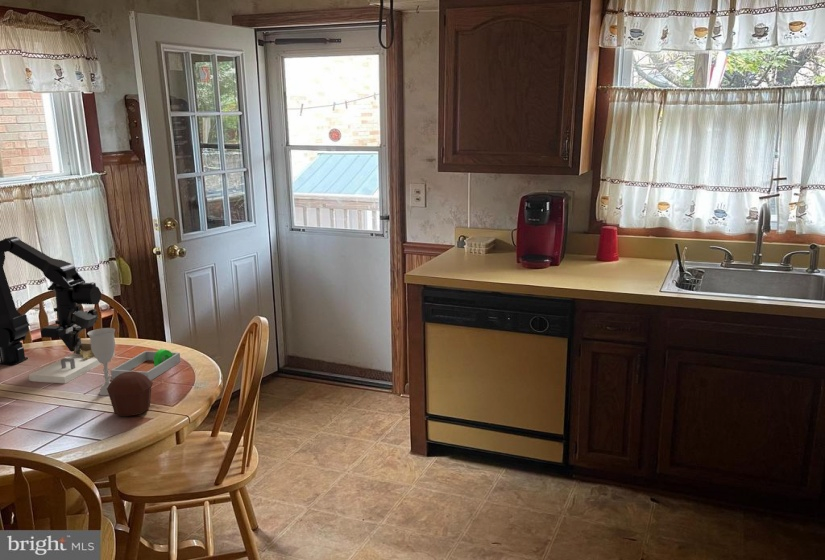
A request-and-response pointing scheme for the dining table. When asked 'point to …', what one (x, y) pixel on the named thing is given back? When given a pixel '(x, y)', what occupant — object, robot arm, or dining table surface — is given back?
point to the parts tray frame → (143, 357)
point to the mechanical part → (161, 356)
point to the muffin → (130, 393)
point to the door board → (67, 367)
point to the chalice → (103, 351)
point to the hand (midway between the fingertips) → (72, 351)
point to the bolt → (82, 352)
